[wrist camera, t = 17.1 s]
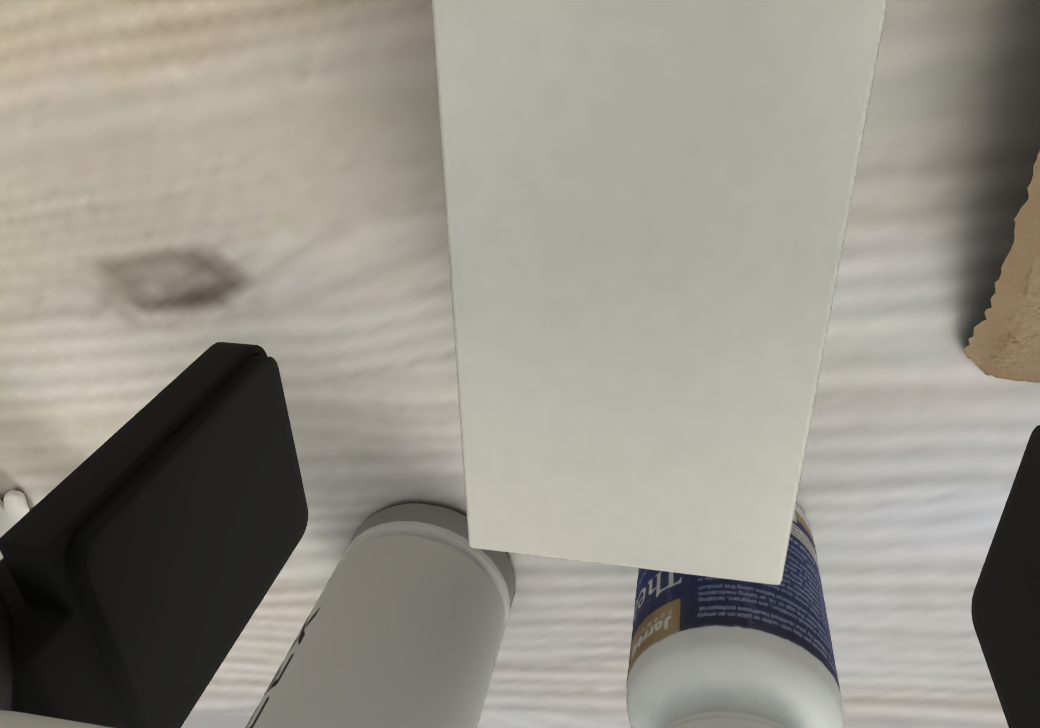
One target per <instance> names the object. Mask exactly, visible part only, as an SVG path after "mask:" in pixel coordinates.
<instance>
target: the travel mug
mask: <svg viewBox="0 0 1040 728" xmlns="http://www.w3.org/2000/svg"><path fill="white" fill-rule="evenodd" d="M514 594H515V576H514V571H513V567H512V565H511V562H510V560H509V558H508V556H507V554H506V552H502V551H494V550H486V549H478V548H472V547H470V546H469V539H468V524H467V517H466V516H464V515H462V514H460V513H458V512H456V511H453V510H450V509H447V508H444V507H441V506H435V505H429V504H402V505H397V506H392V507H389V508H386V509H384V510H381V511H379V512H376V513H375V514H374V515H372V516H371V517H369V518H368V519H366V520H365V521H364V523H363V524H362V525H361V526H360V527H359V528H358V530H357V532H356V533H355V535H354V537H353V539H352V540H351V542H350V544H349V546H348V548H347V549H346V551H345V553H344V555H343V558H342V559H341V560H340V562H339V563H338V565H337V567H336V569H335V571H334V572H333V574H332V576H331V578H330V579H329V581H328V583H327V585H326V586H325V588H324V590H323V592H322V593H321V595H320V597H319V599H318V601H317V602H316V604H315V606H314V608H313V609H312V611H311V613H310V615H309V616H308V618H307V620H306V622H305V624H304V625H303V627H302V629H301V631H300V632H299V634H298V636H297V638H296V639H295V641H294V643H293V645H292V647H291V648H290V650H289V652H288V654H287V655H286V657H285V659H284V661H283V662H282V664H281V666H280V668H279V670H278V671H277V673H276V675H275V677H274V678H273V680H272V682H271V684H270V685H269V687H268V689H267V691H266V693H265V694H264V696H263V698H262V700H261V701H260V703H259V705H258V707H257V708H256V710H255V712H254V714H253V715H252V717H251V719H250V721H249V723H248V724H247V726H246V728H477V726H478V722H479V719H480V715H481V712H482V708H483V704H484V701H485V697H486V694H487V690H488V687H489V683H490V679H491V676H492V672H493V669H494V665H495V662H496V658H497V654H498V651H499V647H500V644H501V640H502V637H503V633H504V629H505V625H506V622H507V618H508V615H509V612H510V608H511V604H512V601H513V597H514Z"/></svg>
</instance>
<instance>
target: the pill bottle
mask: <svg viewBox="0 0 1040 728" xmlns="http://www.w3.org/2000/svg"><path fill="white" fill-rule="evenodd" d="M627 712H628V717H629V721H630V724H631V727H632V728H843V709H842V700H841V693H840V687H839V681H838V676H837V671H836V666H835V660H834V654H833V649H832V642H831V636H830V631H829V625H828V620H827V614H826V608H825V602H824V597H823V591H822V585H821V579H820V574H819V567H818V561H817V554H816V550H815V545H814V541H813V536H812V532H811V529H810V526H809V523H808V521H807V519H806V517H805V515H804V514H803V512H802V511H801V509H800V508H799V507H798V506H797V505H795V511H794V516H793V522H792V527H791V533H790V538H789V544H788V549H787V554H786V560H785V565H784V571H783V576H782V581H781V583H780V585H773V584H765V583H757V582H748V581H740V580H732V579H724V578H716V577H707V576H699V575H691V574H683V573H675V572H666V571H658V570H650V569H642V568H639V574H638V581H637V590H636V599H635V610H634V620H633V632H632V641H631V650H630V660H629V669H628V677H627Z"/></svg>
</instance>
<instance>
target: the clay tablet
mask: <svg viewBox="0 0 1040 728" xmlns="http://www.w3.org/2000/svg"><path fill="white" fill-rule="evenodd" d="M1027 190H1028V195H1029V198H1028V200H1027V202H1026V203H1025V204H1024V205H1023V206H1022V207H1021V208H1020V211H1019V213H1018V214H1017V216H1016V217H1015V218H1014V222H1015V225H1016V226H1015V228H1014V236H1015V241H1014V243H1013V245H1012V248H1011V250H1010V252H1009V254H1008V255H1007V257H1006V259H1005V261H1004V263H1003V265H1002V266H1001V272H1002V273H1001V275H1000V278H999V280H997V281H996V282H995V292H996V293H995V294H994V295H993V296H992V298H991V299H990V301H991V306H992V308H988V309H986V311H985V313H984V314H985V317H986V319H987V320H984V321H982V322H981V323H979V324H978V325H977V326H975V327H974V332H973V333H974V336H973V337H971V338H969V339H968V341H969V343H970V345H968V346H966V347H965V348H964V350H963V351H964V353H965V355H966V356H967V357H968V358H970V359H972V360H973V361H974V362H975V364H976V365H977V366H978V367H979V368H980V369H981V370H982V371H983V372H984V373H985V374H986V375H992V376H994V377H996V378H1002V379H1009V380H1015V381H1028V382H1036V383H1038V382H1040V151H1039V153H1038V154H1037V160H1036V162H1035V164H1034V166H1033V177H1032V181H1031V183H1030V184H1029V186H1028V188H1027Z"/></svg>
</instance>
